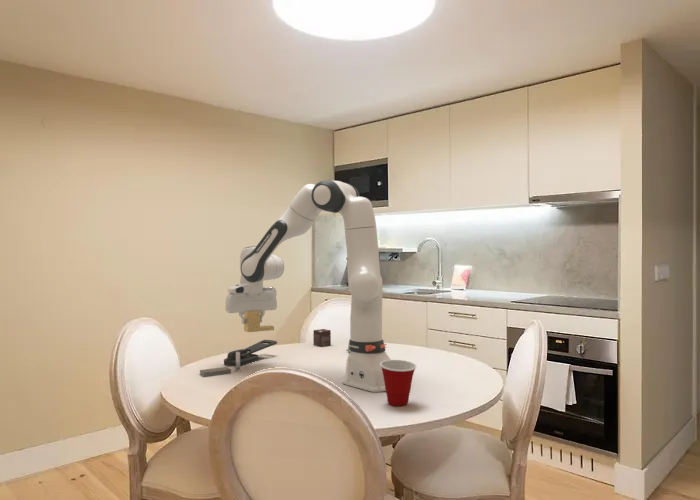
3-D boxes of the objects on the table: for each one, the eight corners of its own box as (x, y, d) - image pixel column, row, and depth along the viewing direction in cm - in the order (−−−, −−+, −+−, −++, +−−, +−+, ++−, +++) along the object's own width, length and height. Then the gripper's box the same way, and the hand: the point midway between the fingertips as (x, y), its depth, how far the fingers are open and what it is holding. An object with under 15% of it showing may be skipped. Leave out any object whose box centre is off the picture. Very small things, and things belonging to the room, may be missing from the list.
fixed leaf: (243, 371, 197) (243, 353, 197) (203, 377, 190) (203, 357, 189) (238, 369, 201) (238, 350, 201) (200, 374, 194) (199, 355, 194)
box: (323, 344, 253) (323, 328, 253) (331, 345, 249) (331, 330, 249) (313, 345, 250) (313, 330, 249) (320, 347, 245) (320, 331, 245)
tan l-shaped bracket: (269, 328, 213) (269, 308, 213) (274, 330, 209) (274, 310, 209) (243, 330, 207) (244, 310, 207) (248, 332, 203) (248, 311, 203)
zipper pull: (279, 341, 225) (236, 350, 204) (279, 356, 225) (236, 367, 204) (263, 339, 230) (220, 348, 209) (264, 354, 230) (220, 365, 209)
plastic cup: (396, 411, 148) (396, 369, 148) (372, 402, 157) (372, 362, 157) (424, 405, 155) (424, 364, 155) (400, 396, 163) (399, 357, 163)
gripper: (273, 286, 214) (273, 320, 214) (223, 288, 204) (224, 324, 204) (279, 286, 209) (279, 321, 209) (229, 289, 198) (229, 326, 198)
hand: (251, 323), depth 206 cm, fingers closed on tan l-shaped bracket, 5 cm apart
